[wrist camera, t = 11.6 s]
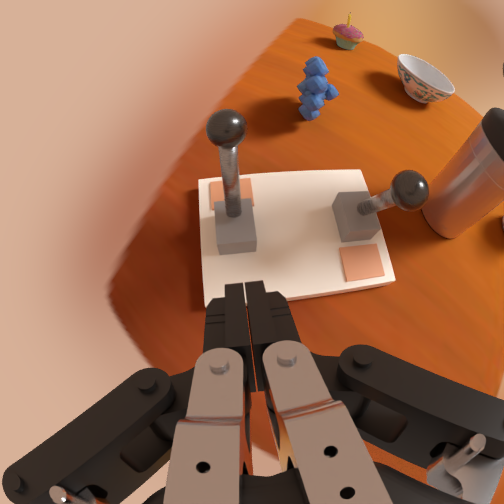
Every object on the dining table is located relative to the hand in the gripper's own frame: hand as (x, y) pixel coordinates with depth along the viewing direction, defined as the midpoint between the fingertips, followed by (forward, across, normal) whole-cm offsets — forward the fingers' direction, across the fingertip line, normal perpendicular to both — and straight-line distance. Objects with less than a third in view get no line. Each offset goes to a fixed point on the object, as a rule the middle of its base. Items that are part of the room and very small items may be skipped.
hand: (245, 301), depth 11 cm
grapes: (+37, -14, -9) cm, 41 cm away
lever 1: (+18, 0, +2) cm, 18 cm away
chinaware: (+46, -45, -18) cm, 67 cm away
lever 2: (+18, -14, +2) cm, 23 cm away
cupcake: (+61, -34, -32) cm, 77 cm away
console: (+21, -7, +6) cm, 23 cm away
